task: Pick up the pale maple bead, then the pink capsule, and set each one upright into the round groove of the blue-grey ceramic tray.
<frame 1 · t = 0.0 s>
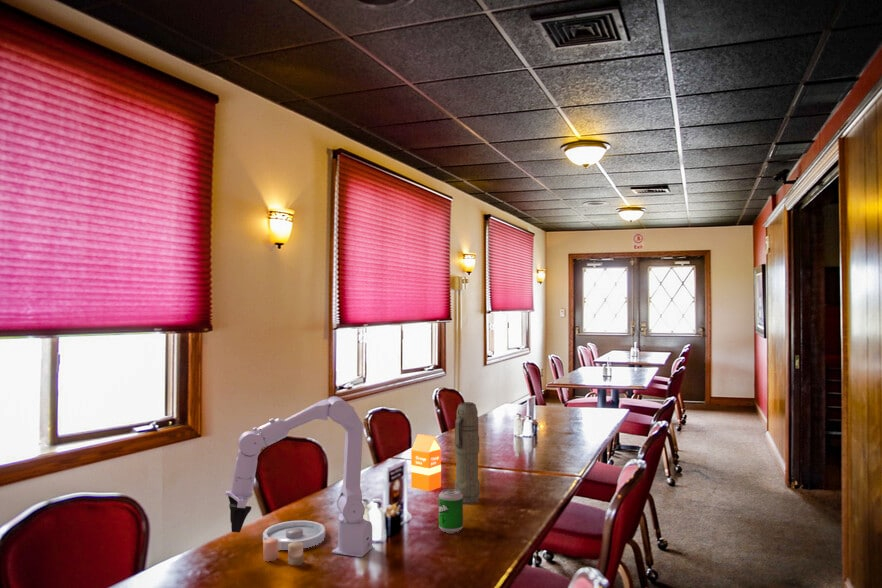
hand: (235, 527, 171), 11 cm above the table, tool pointing down, fingers open, 7 cm apart
groove tray: (294, 539, 190), on the table
pink capsule: (270, 559, 176), on the table
soda can: (450, 530, 198), on the table
orange juice: (426, 487, 245), on the table
maple bead: (295, 563, 173), on the table
thermos: (467, 501, 228), on the table
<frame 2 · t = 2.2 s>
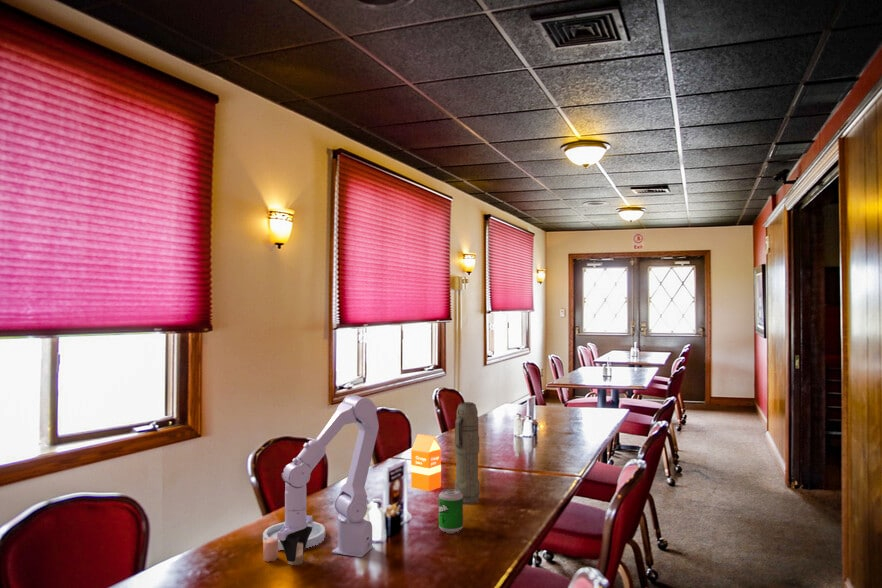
hand: (295, 557, 173), 1 cm above the table, tool pointing down, fingers closed on maple bead, 4 cm apart
maple bead: (295, 563, 173), on the table, touching gripper
everything else where it was.
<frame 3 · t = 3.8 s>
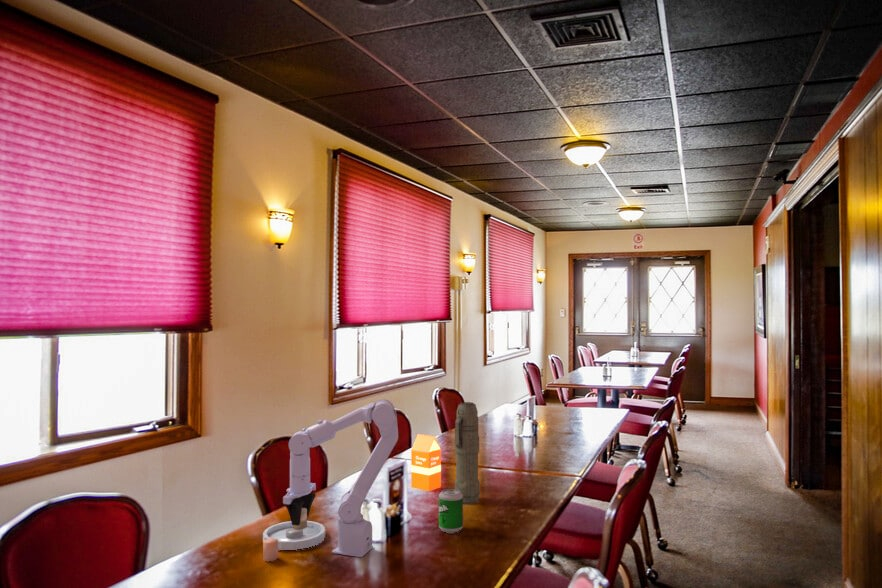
hand: (299, 522, 181), 8 cm above the table, tool pointing down, fingers closed on maple bead, 4 cm apart
maple bead: (299, 527, 181), point 7 cm above the table, touching gripper
everything else where it was.
when the fingers open (4 cm above the table, at t = 5.4 s): maple bead drops 1 cm, resting on groove tray.
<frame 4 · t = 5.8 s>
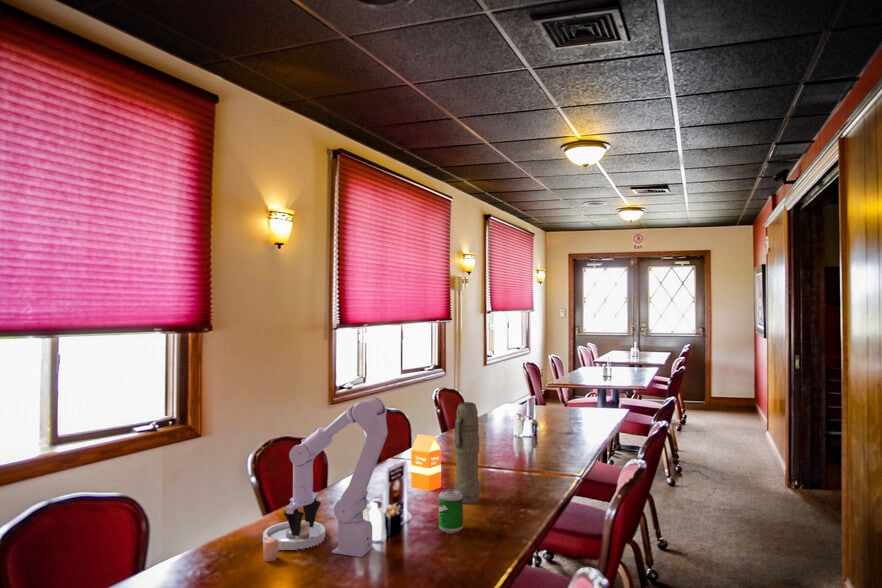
hand: (302, 530, 186), 4 cm above the table, tool pointing down, fingers open, 7 cm apart
maple bead: (302, 540, 186), point 1 cm above the table, touching groove tray
everything else where it was.
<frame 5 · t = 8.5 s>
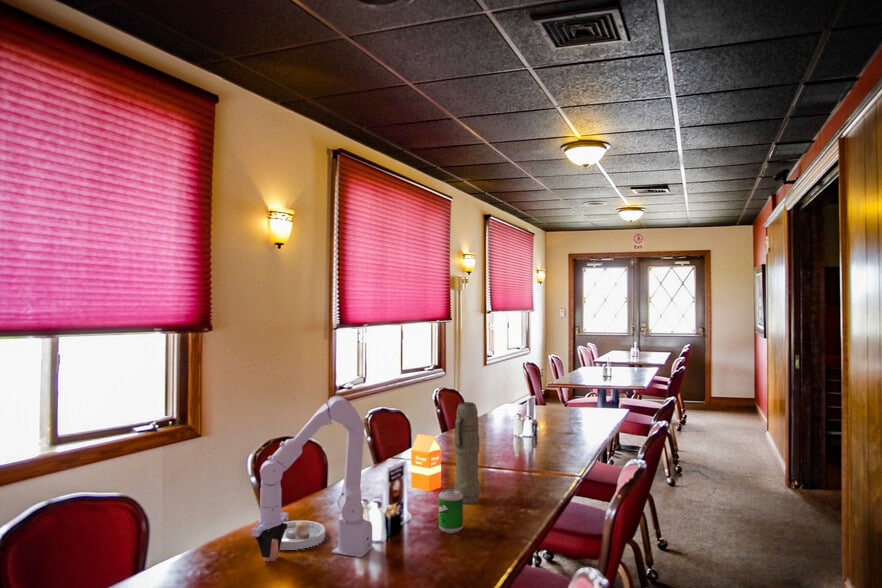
hand: (270, 553, 176), 1 cm above the table, tool pointing down, fingers closed on pink capsule, 4 cm apart
pink capsule: (270, 559, 176), on the table, touching gripper
everything else where it was.
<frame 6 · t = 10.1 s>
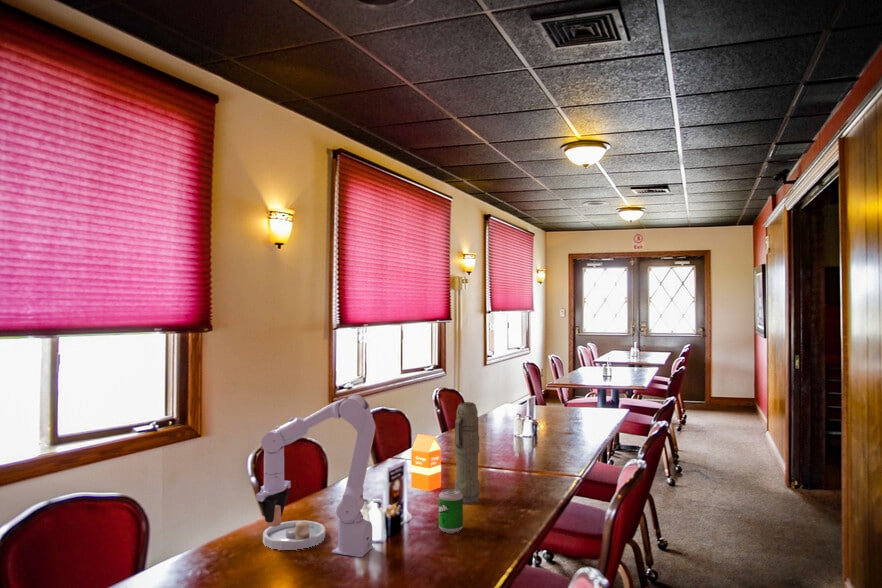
hand: (273, 519, 183), 8 cm above the table, tool pointing down, fingers closed on pink capsule, 4 cm apart
pink capsule: (273, 524, 183), point 7 cm above the table, touching gripper
everything else where it was.
when the fingers open (4 cm above the table, at t = 11.8 s): pink capsule drops 1 cm, resting on groove tray.
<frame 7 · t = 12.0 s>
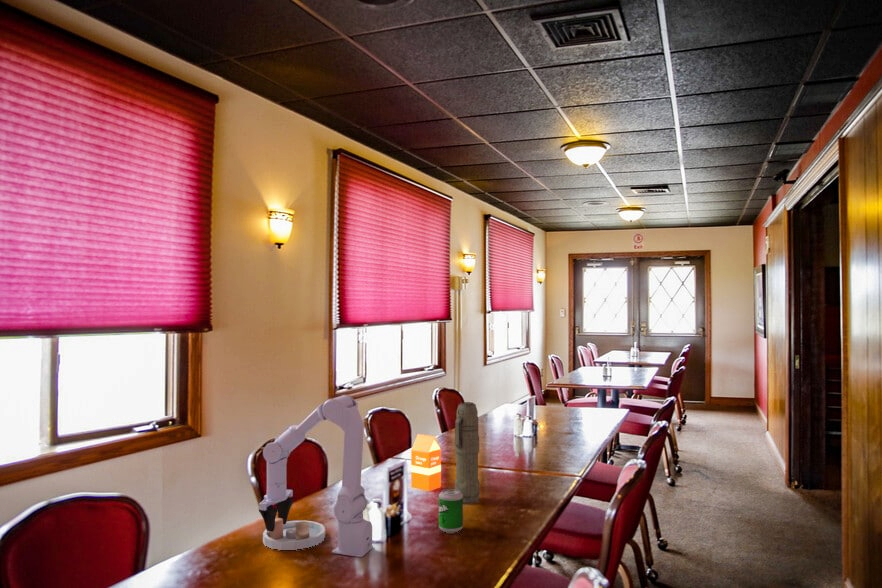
hand: (276, 527, 189), 4 cm above the table, tool pointing down, fingers open, 6 cm apart
pink capsule: (276, 536, 189), point 1 cm above the table, touching groove tray
everything else where it was.
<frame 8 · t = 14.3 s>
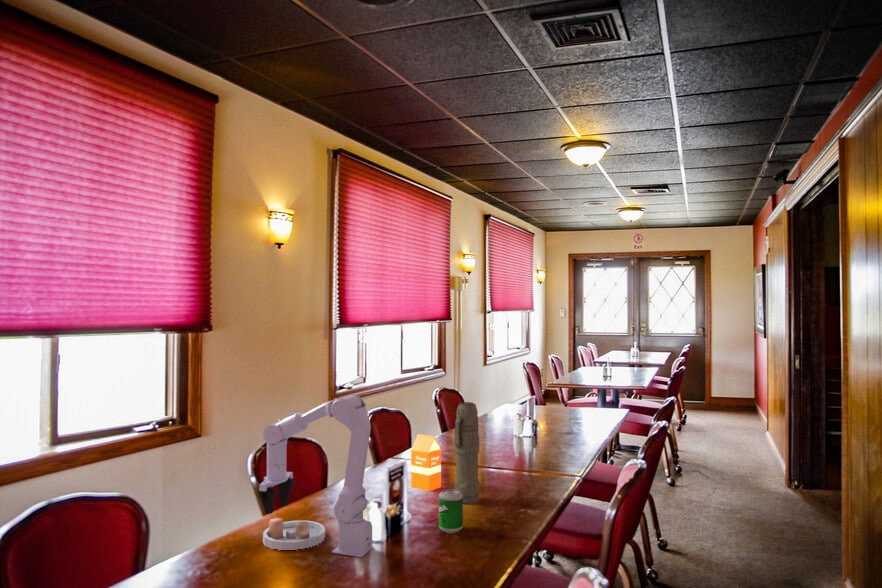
hand: (276, 508, 190), 9 cm above the table, tool pointing down, fingers open, 7 cm apart
nothing on the table moved.
at the end: maple bead inside the target area on the groove tray (5.2 cm from its centre), point 1.0 cm above the groove tray's base; pink capsule inside the target area on the groove tray (5.3 cm from its centre), point 1.0 cm above the groove tray's base; pink capsule tilted 0° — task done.
